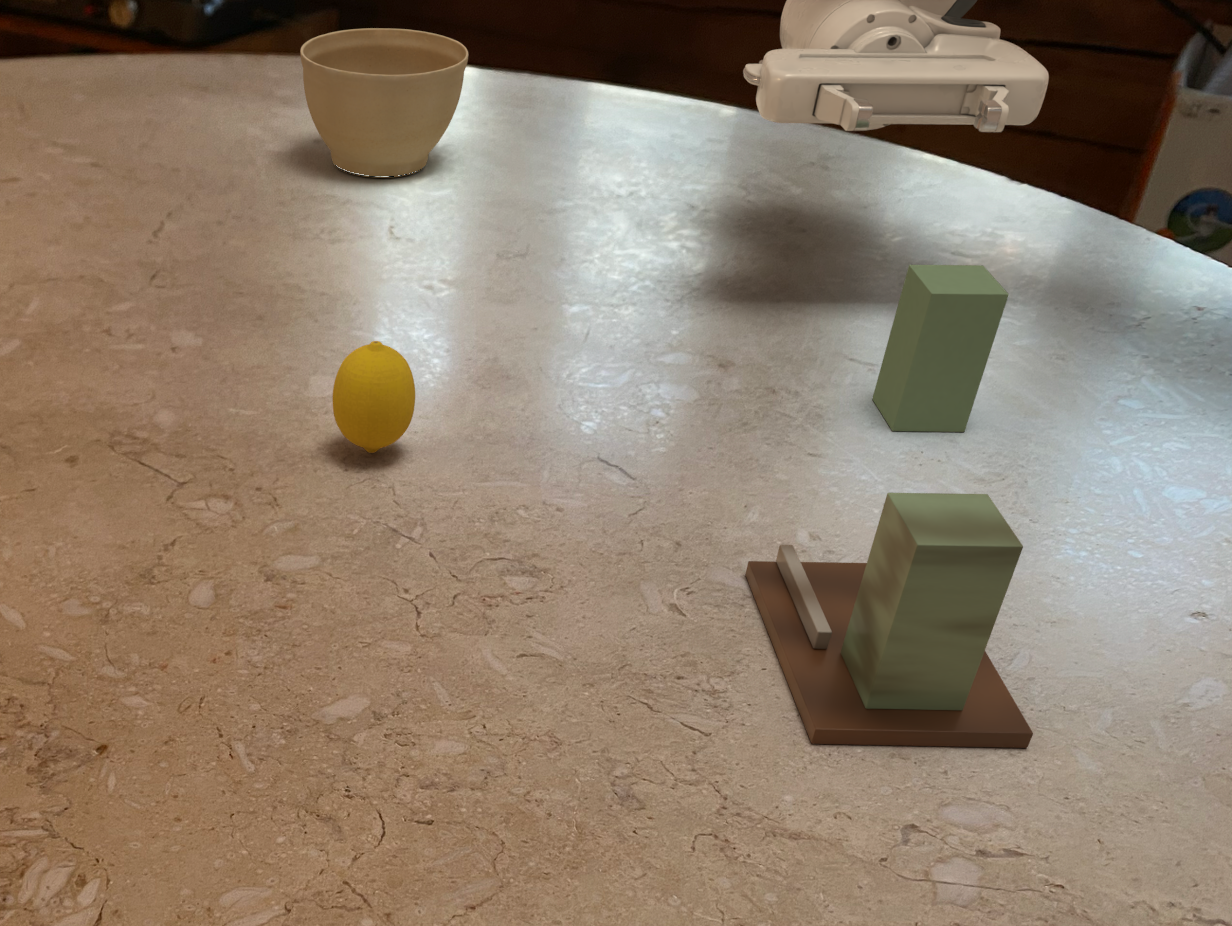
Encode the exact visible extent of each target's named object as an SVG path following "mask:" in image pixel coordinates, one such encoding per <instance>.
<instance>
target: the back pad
mask: <svg viewBox="0 0 1232 926" xmlns="http://www.w3.org/2000/svg"><path fill="white" fill-rule="evenodd" d="M1009 295H1010V294H1009V293H1008V292H1007V290H1005V288H1004V287H1003V286H1002V285H1001V284H1000V282H998V280H997V279H996V278H995V277H994V276H993V275H992V273H991V272H990V271H989V270H988V269H987V268H986V267H985V266H984V265H981V264H980V265H979V264H974V265H973V264H909V265H908V267H907V270H906V275H905V277H904V281H903V284H902V289H901V293H900V296H899V300H898V304H897V307H896V310H895V314H894V319H893V321H892V325H891V329H890V332H889V337H888V339H887V342H886V343H887V344H886V346H885V351H884V353H883V354H884V356H883V358H882V362H881V365H880V369H879V373H878V376H877V380H876V383H875V386H874V390H873V394H872V398H871V399H872V401H873V402H874V405H875V406H876V407H877V409H878V410H879V412H880V414H881V415H882V417H883V419H884V420H885V422H886V424H887V425H888V426H889V428H890V430H891V432H931V433H932V432H933V433H935V432H937V433H939V432H941V433H942V432H943V433H944V432H945V433H964V432H965V431H966V429H967V426H968V422H969V419H970V417H971V413H972V410H973V407H974V404H975V400H976V398H977V394H978V391H979V388H980V385H981V382H982V379H983V376H984V372H985V369H986V366H987V363H988V360H989V357H990V354H991V351H992V348H993V344H994V342H995V338H996V335H997V332H998V330H999V326H1000V323H1001V321H1002V317H1003V313H1004V310H1005V308H1006V304H1007V301H1008V298H1009Z"/></svg>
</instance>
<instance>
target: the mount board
mask: <svg viewBox="0 0 1232 926" xmlns="http://www.w3.org/2000/svg"><path fill="white" fill-rule="evenodd" d="M1023 549H1024V545H1023V544H1022V542H1021V541H1020V539H1019V537H1017V535H1016V534H1015V532H1014V530H1013V529H1012V527H1011V526H1010V525H1009V523H1008V522H1007V521H1006V519H1005V517H1004V516H1003V515H1002V513H1001V512H1000V510H999V509H998V507H997V506H996V504H995V503H994V501H993V500H992V498H991V496H989V494H988V493H946V492H945V493H943V492H941V493H940V492H939V493H938V492H937V493H936V492H887V493H886V497H885V500H884V503H883V507H882V511H881V513H880V517H879V520H878V524H877V527H876V531H875V534H874V537H873V541H872V544H871V548H870V551H869V554H868V557H867V561H866V562H839V561H837V562H835V561H834V562H829V561H827V562H826V561H822V562H821V561H801V560H800V558H799V556H798V554H797V553H798V552H797V551H796V549H795V547H794V545H793V544H779V547H778V549H777V550H778V551H777V554H776V559H775V561H774V560H773V561H771V560H770V561H769V560H768V561H767V560H766V561H765V560H749V561H748V562H747V565H746V566H747V567H746V569H745V573H744V575H745V577H746V580H747V583H748V586H749V588H750V591H751V593H752V597H753V598H754V601H755V603H756V606H757V608H758V611H759V613H760V615H761V618H762V621H763V624H764V626H765V629H766V632H767V634H768V636H769V639H770V642H771V644H772V647H773V649H774V651H775V654H776V657H777V660H778V661H779V665H780V667H781V669H782V672H783V674H784V677H785V679H786V682H787V685H788V688H789V690H790V693H791V695H792V698H793V700H794V703H795V705H796V708H797V709H798V710H797V711H798V713H799V715H800V718H801V721H802V723H803V726H804V728H805V731H806V733H807V736H808V738H809V741H810V743H811V744H812V745H814V744H815V745H852V746H853V745H855V746H856V745H858V746H859V745H861V746H904V747H905V746H910V747H956V748H957V747H959V748H962V747H964V748H1007V749H1008V748H1012V749H1028V748H1029V745H1030V743H1031V740H1032V738H1033V736H1034V731H1033V730H1032V728H1031V727H1030V725H1029V724H1028V722H1027V720H1026V718H1025V717H1024V715H1023V713H1022V711H1021V710H1020V708H1019V706H1018V705H1017V703H1016V701H1015V700H1014V698H1013V696H1012V694H1011V692H1010V691H1009V689H1008V687H1007V686H1006V684H1005V682H1004V680H1003V679H1002V677H1001V676H1000V673H999V672H998V670H997V668H996V667H995V665H994V664H993V662H992V660H991V658H990V657H989V654H988V653H987V652H986V648H987V646H988V643H989V640H990V639H991V635H992V632H993V630H994V626H995V624H996V622H997V619H998V617H999V613H1000V610H1001V608H1002V605H1003V603H1004V600H1005V598H1006V594H1007V591H1008V589H1009V587H1010V583H1011V580H1012V578H1013V576H1014V573H1015V570H1016V568H1017V565H1018V562H1019V561H1020V560H1019V559H1020V556H1021V554H1022V551H1023Z"/></svg>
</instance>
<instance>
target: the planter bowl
mask: <svg viewBox="0 0 1232 926" xmlns="http://www.w3.org/2000/svg"><path fill="white" fill-rule="evenodd" d="M299 52H300V53H299V55H300V62H301V66H302V79H303V80H302V81H303V89H304V96H305V101H306V104H307V109H308V111H309V114H310V116H311V119H312V122H313V124H314V126H315V128H316V131H317V132H318V134H319V136H320V138H321V139H322V141H323V142H324V143H325V145H326V146H327V148H328V149H329V151H330V157H331V162H332V161H333V162H332V164H333V163H334V164H335V165H337V166H338V167H340V168H342V169H345V170H347V171H350V172H354V173H359V174H364V175H369V176H394V177H393V178H399V177H400V176H398V175H402V176H401V177H404V176H409V175H414V174H415V173H416V174H417V173H418V172H420V171H421V170H423V169H424V168H425V167H426V165H427V164H428V160H429V155H430V153H431V152H432V150H433V149H434V148H435V147H436V146H437V145H438V144H439V142H440V140H441V139H442V138H443V136H444V134H445V133H446V131H447V129H449V126H450V124H451V122H452V119H453V118H454V116H455V113H456V110H457V107H458V104H459V101H460V98H461V95H462V89H463V84H464V76H465V71H466V68H467V65H468V61H469V50H468V49H467V47H466V46H465V45H464V44H463V43H462V42H460V41H458V40H456V39H454V38H451V37H448V36H445V35H441V34H437V33H433V32H428V31H424V30H423V31H422V30H415V29H407V28H406V29H405V28H392V27H391V28H389V27H388V28H379V27H376V28H375V27H374V28H373V27H370V28H369V27H368V28H367V27H366V28H353V29H351V28H350V29H343V30H337V31H332V32H331V31H330V32H328V33H325V34H324V33H323V34H321V35H320V34H319V35H318V36H315V37H312V38H310V39H308V40H307V41H305V42H304V43H303V44H302V45H301V47H300V51H299ZM334 164H333V165H334ZM335 165H334V166H335ZM424 166H425V167H424ZM423 167H424V168H423ZM422 168H423V169H422ZM420 169H421V170H420ZM418 170H419V171H418ZM415 171H417V172H415ZM343 172H344V173H346V172H345V171H343ZM412 172H414V173H412ZM409 173H411V174H409ZM404 174H407V175H404ZM353 175H355V174H353ZM355 176H356V175H355ZM358 176H359V177H361V176H360V175H358ZM369 176H364V177H366V178H370V177H369ZM379 178H381V179H382V178H385V179H386V178H388V177H378V179H379Z"/></svg>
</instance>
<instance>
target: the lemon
mask: <svg viewBox="0 0 1232 926" xmlns="http://www.w3.org/2000/svg"><path fill="white" fill-rule="evenodd" d="M332 387H333V388H332V410H333V411H332V413H333V417H334V421H335V423H336V426H337V427H338V429H339V431H340V432H341V434H342V435H343V437H344V438H346V439H347V441H349V442H350V443H352V444H353V445H355V446H357V447H361V448H363V449H364V450H365V451H366V452H367V453H369V454H374V453H377V452H378V451H379V450H380V449H382V448H383V449H384V448H386V447H389V446H391V445H393V444H394V443H395V442H397V441H398V440H399V439H401V438H402V437H403V435H404V434H405V433H406V431H407V430H408V428H409V426H410V425H411V422H412V419H413V416H414V411H415V404H416V385H415V379H414V375H413V372H412V370H411V367H410V365H409V363H408V361H407V359H406V358H405V357H404V356H403V355H402V354H401V353H400V352H399V351H398V350H397V349H395V348H393V347H391V346H388V345H386V344H383V343H382V342H381V341H380V340H373V341H370V343H369V344H365V345H362V346H360V347H358V348H356V349H354V350H353V351H351V352H350V353H349V354H348V355H347V356H345V358H344V359H343V360H342V362H341V364H340V366H339V368H338V370H337V373H336V375H335V378H334V382H333V386H332Z"/></svg>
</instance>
